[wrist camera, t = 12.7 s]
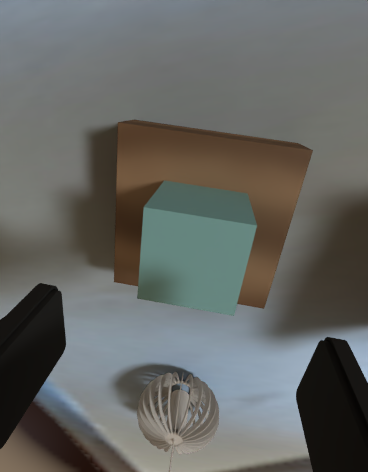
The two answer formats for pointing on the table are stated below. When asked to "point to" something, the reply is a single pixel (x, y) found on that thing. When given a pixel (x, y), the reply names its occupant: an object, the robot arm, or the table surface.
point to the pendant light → (178, 414)
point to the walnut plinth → (213, 176)
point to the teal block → (195, 247)
